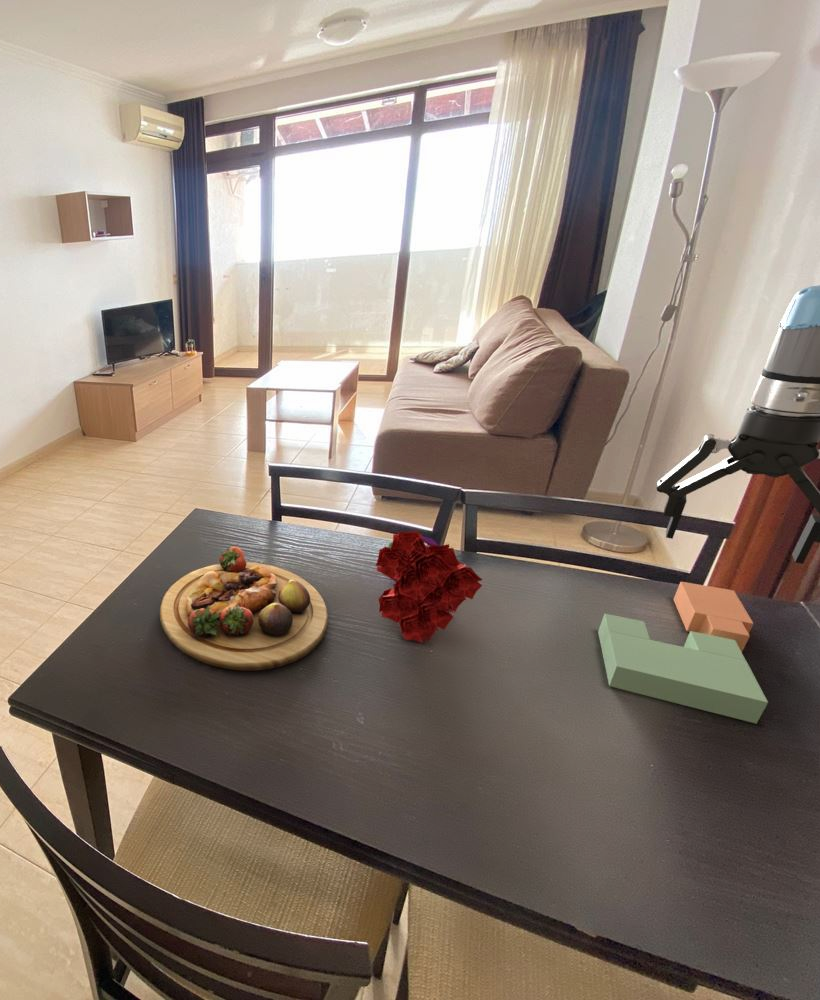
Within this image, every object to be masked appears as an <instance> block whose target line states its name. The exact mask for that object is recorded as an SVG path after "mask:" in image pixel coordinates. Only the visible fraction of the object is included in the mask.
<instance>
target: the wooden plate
mask: <svg viewBox="0 0 820 1000" xmlns="http://www.w3.org/2000/svg"><path fill="white" fill-rule="evenodd" d="M218 560H219V563H216V564H212V565H207V566H205V567H202V568H198V569H196V570H193V571H191V572H189V573H187V574H185V575H184V576H182V577H180V578H179V579H178V580H177V581H175V582H174V583H173V584H172V585H171V586H170V587H169V588H168V590H167V591H165V594H164V596H163V598H162V600H161V604H160V606H159V607H160V608H159V620H160V624H161V627H162V629H163V632H164V633H165V635H166V637H167V638H168V639H169V640H170V642H171V643H172V644H173V645H174V646H175V647H177V648H178V649H179V650H180V651H181V652H183V654H186V655H187V656H189V657H192V658H193V659H195V660H197V661H199V662H201V663H204V664H207V665H210V666H213V667H217V668H223V669H227V670H234V671H264V670H271V669H275V668H276V669H277V668H279V667H284V666H286V665H289V664H292V663H294V662H296V661H298V660H301V659H302V658H305V657H306V656H307V655H308V654H310V653H311V652H312V651H313V650H314V649H316V647H317V646H318V645H320V643H321V642H322V640H323V639H324V638H325V637H324V636H325V635H326V632H327V628H328V625H329V614H328V613H329V612H328V608H327V605H326V603H325V601H324V599H323V597H322V595H321V594H320V592H319V591H318V590H317V589H316V588H315V586H313V585H311V583H309V582H308V581H307V580H305V579H304V578H302V577H301V576H299V575H297V574H295V573H293V572H291V571H289V570H286V569H283V568H281V567H277V566H274V565H270V564H265V563H264V564H263V563H260V562H259V563H258V562H250V561H246V558H245V552H244V551H243V550H242V549H241V548H240V547H238V546H231V547H230V548H227V549H226V551H224V552H223V551H221V554H220V555H219V559H218Z"/></svg>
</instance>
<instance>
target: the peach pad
mask: <svg viewBox="0 0 820 1000" xmlns="http://www.w3.org/2000/svg"><path fill="white" fill-rule="evenodd" d="M673 602H674V604H675V607H676V609H677V611H678V614H679V616H680V619H681V621H682V623H683V625H684V628H685V631H686V632H687V633H688V632H689V633H690V631H692V632H697V633H702V634H707V635H712V636H717V637H722V638H727V639H732V640H735V641H736V643H737V644H738V646H739V648H740V650H741V652H742V653H743V651H744V649H745V647H746V645H747V643H748V641H749V639H750V637H751V636H750V632H751V630H752V628H753V626H754V624H755V623H754V622H753V620H752V619H751V617H750V615H749V613H748V612H747V610H746V608H745V606H744V605H743V603H742V601H741V600H740V598H739V597H738V595H737V593H736V591H735V590H732V589H727V588H721V587H715V586H710V585H703V584H698V583H693V582H687V581H679V585H678V587H677V590H676V592H675V594H674V597H673Z"/></svg>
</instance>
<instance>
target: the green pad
mask: <svg viewBox="0 0 820 1000" xmlns="http://www.w3.org/2000/svg"><path fill="white" fill-rule="evenodd" d="M598 628H599V629H598V631H597V634H598V638H599V642H600V647H601V653H602V658H603V662H604V667H605V673H606V678H607V682H608V686H609V687H611V688H615V689H619V690H623V691H626V692H631V693H635V694H639V695H643V696H646V697H650V698H655V699H658V700H662V701H665V702H670V703H672V704H677V705H681V706H685V707H689V708H693V709H698V710H701V711H705V712H709V713H713V714H716V715H721V716H725V717H729V718H733V719H735V720H736V719H737V720H741V721H744V722H747V723H752V724H755V725H757V724H758V722H759V720H760V718H761V716H763V713H764V711H765V710H766V708H767V706H768V704H769V701H768V699H767V697H766V695H765V694H764V691H763V690H762V688H761V685H760V684H759V682H758V681H757V678H756V676H755V675H754V673H753V671H752V669H751V667H750V665H749V663H748V662H747V660H746V658H745V656H744V654H743V651H742V652H741V650H740V648H739V646H738V644H737V643H736V641H735V640H732V639H727V638H722V637H717V636H712V635H707V634H702V633H697V632H692V631H690V632H689V633H688V636H687V638H686V640H685V642H684V645H683V646H682V645H681V646H680V645H676V644H671V643H667V642H663V641H657V640H653V639H651V638H650V634H649V632H648V629H647V626H646V623H645V621H643V620H638V619H634V618H629V617H624V616H618V615H613V614H608V613H604V614H603V617H602V620H601V623H600V625H599V627H598Z"/></svg>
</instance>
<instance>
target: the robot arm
mask: <svg viewBox="0 0 820 1000" xmlns="http://www.w3.org/2000/svg"><path fill="white" fill-rule="evenodd" d="M749 401H750V403H751V405H752V406H750V407H748V408H747V409H746V411H745V413H744V415H743V418H742V421H741V424H740V425H739V428H738V432H737V434H736V435H735V436H734V437H733V438H731V439H725V438H720V437H716V435H714V434H712V433H709V434H706V435H705V436H703V438H702V440H701V442H700V444H699V445H698V447H697V448H696V449H695V450H694V451H692V452H691V453H690V454H689V455H688V456H686V457H685V458H684V459H683V460H681V461H680V462H679V463H678V464H677V465H676V466H675V467H673V468H672V469H671V470H669V471H668V472H667V473H666V474H665V475H664V476H662V477H661V478H660V479H659V480H658V481H657V482H656V491H657V492H658V493H661V494H665V495H667V496H668V497H667V500H666V502H665V506H664V508H663V513H664V516H665V517H670V519H669V521H668V524H667V527H666V530H665V538H666V539H671V540H672V539H674V536H675V533H676V531H677V529H678V525H679V523H680V521H681V517H682V515H683V512H684V510H685V507H686V504H687V495H689V494H691V493H693V492H695V491H697V490H700V489H702V488H704V487H705V486H708V485H710V484H711V483H714V482H716V481H717V480H720V479H722V478H724V477H726V476H728V475H729V476H730V475H733V474H734V473H737V472H739V471H742V472H744V473H746V475H747V474H748V475H764V476H767V477H771V478H779V477H785V476H789V477H790V478H791V480H792V481H793V482H794V483H795V484H796V486H797V487H798V488H799V489H800V491H801V492H802V493H803V495H804V496H805V497H806V499H807V500H808V501H809V502H810V504H811V505H812V507H814V508H815V510H816V511H817V512H818V514H813V513H811V515H810V516H809V519H808V521H807V523H806V524H805V526H804V528H803V531H802V533H801V535H800V537H799V539H798V541H797V543H796V545H795V547H794V549H793V551H792V554H791V555H792V558H793V561H794V563H795V564H800V565H803V564H804V563H805V561H806V559H807V557H808V555H809V553H810V551H811V549H812V547H813V545H814V543H820V489H818V487H817V486H816V485H815V483H814V482H813V481H812V479H811V478H810V477H809V476H808V475H807V473H806V472H805V470H804V469H803V467H805V466H808V465H809V464H811V463H813V462H815V461H816V460H817V459H818V460H820V449H818V446H819V443H820V284H819V285H812V286H808V287H804V288H802V289H800V290H799V291H797V292H796V293H795V295H794V296H793V297H792V299H791V301H790V303H789V304H788V306H787V308H786V310H785V313H784V315H783V317H782V319H781V321H780V322H779V324H778V329H777V332H776V335H775V337H774V340H773V342H772V345H771V348H770V350H769V353H768V357H767V360H766V362H765V365H764V368H763V369H762V372H761V374H760V375H759V378H758V381H757V383H756V386H755V389H754V390H753V393H752V396H751V398H750V400H749ZM723 449H727V451H728V452H729V454H730V456H729V457H727V458H725V459H723V460H721V461H720V462H719V463H717V464H714V465H713V466H711V467H709V468H707V469H705V470H704V471H701V472H699V473H697V474H695V475H693V476H691V477H689V478H686V479H685V480H684V481H682V482H679V481H681V480H682V479H683V478H684V477H686V476H687V475H688V474H689V473H691V472H692V471H693V470H694V469H695V468H697V467H698V466H700V464H702V463H703V462H704V461H705V460H706V459H707V458H708V457H709V456H710V455H711V454H717V453H719V452H720V451H721V450H723ZM678 482H679V483H678ZM677 483H678V484H677Z"/></svg>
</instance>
